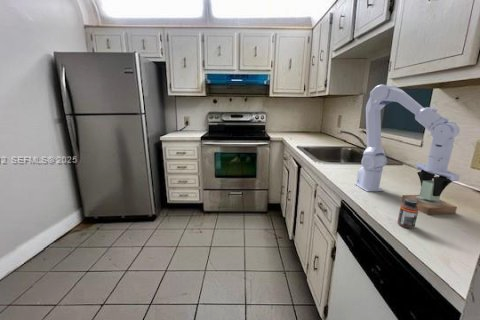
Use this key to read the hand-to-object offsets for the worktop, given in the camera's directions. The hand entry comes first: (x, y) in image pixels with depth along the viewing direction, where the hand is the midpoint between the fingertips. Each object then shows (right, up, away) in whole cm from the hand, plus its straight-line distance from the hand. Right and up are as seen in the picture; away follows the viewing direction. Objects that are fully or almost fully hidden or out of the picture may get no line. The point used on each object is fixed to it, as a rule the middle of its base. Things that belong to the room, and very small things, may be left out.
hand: (430, 193), depth 83 cm
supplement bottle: (-18, -8, -12) cm, 23 cm away
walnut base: (0, -5, +1) cm, 5 cm away
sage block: (0, -2, 0) cm, 2 cm away
